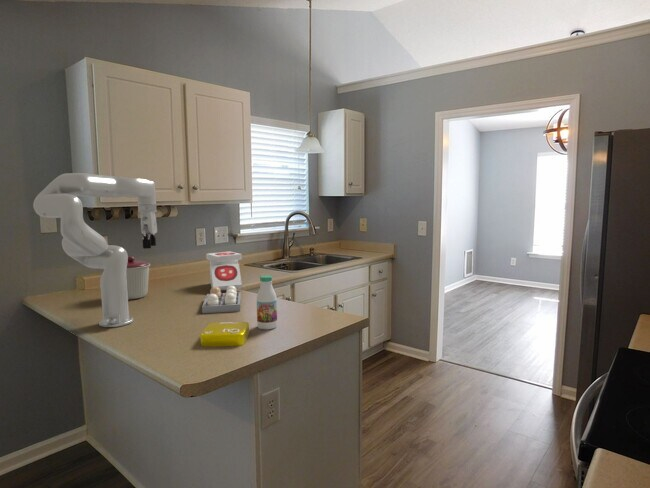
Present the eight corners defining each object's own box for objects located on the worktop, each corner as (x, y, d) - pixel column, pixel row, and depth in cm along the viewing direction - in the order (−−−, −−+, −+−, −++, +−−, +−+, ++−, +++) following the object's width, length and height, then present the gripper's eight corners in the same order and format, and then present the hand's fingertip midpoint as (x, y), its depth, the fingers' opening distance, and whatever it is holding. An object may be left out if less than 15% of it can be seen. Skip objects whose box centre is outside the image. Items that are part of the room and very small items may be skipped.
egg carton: (240, 311, 187) (239, 294, 186) (202, 313, 184) (201, 296, 183) (241, 298, 210) (240, 283, 209) (207, 299, 207) (206, 285, 206)
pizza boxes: (209, 294, 219) (208, 260, 217) (207, 283, 247) (205, 252, 245) (246, 291, 225) (245, 258, 222) (240, 280, 253) (239, 250, 251)
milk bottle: (255, 325, 166) (254, 275, 164) (274, 322, 169) (273, 273, 167) (259, 331, 159) (258, 279, 157) (279, 328, 162) (278, 277, 159)
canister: (159, 294, 221) (157, 254, 218) (135, 302, 203) (132, 259, 201) (130, 292, 225) (128, 253, 223) (104, 300, 208) (101, 258, 206)
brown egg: (220, 300, 202) (220, 287, 201) (210, 301, 201) (209, 288, 200) (221, 298, 206) (220, 285, 206) (211, 298, 205) (210, 285, 205)
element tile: (250, 332, 159) (249, 320, 158) (243, 346, 144) (243, 333, 144) (209, 333, 159) (209, 321, 158) (199, 347, 144) (198, 334, 143)
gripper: (151, 209, 179) (154, 249, 181) (160, 208, 196) (162, 244, 198) (133, 209, 178) (135, 249, 180) (143, 208, 195) (145, 245, 197)
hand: (149, 247), depth 189 cm, fingers open, 9 cm apart
